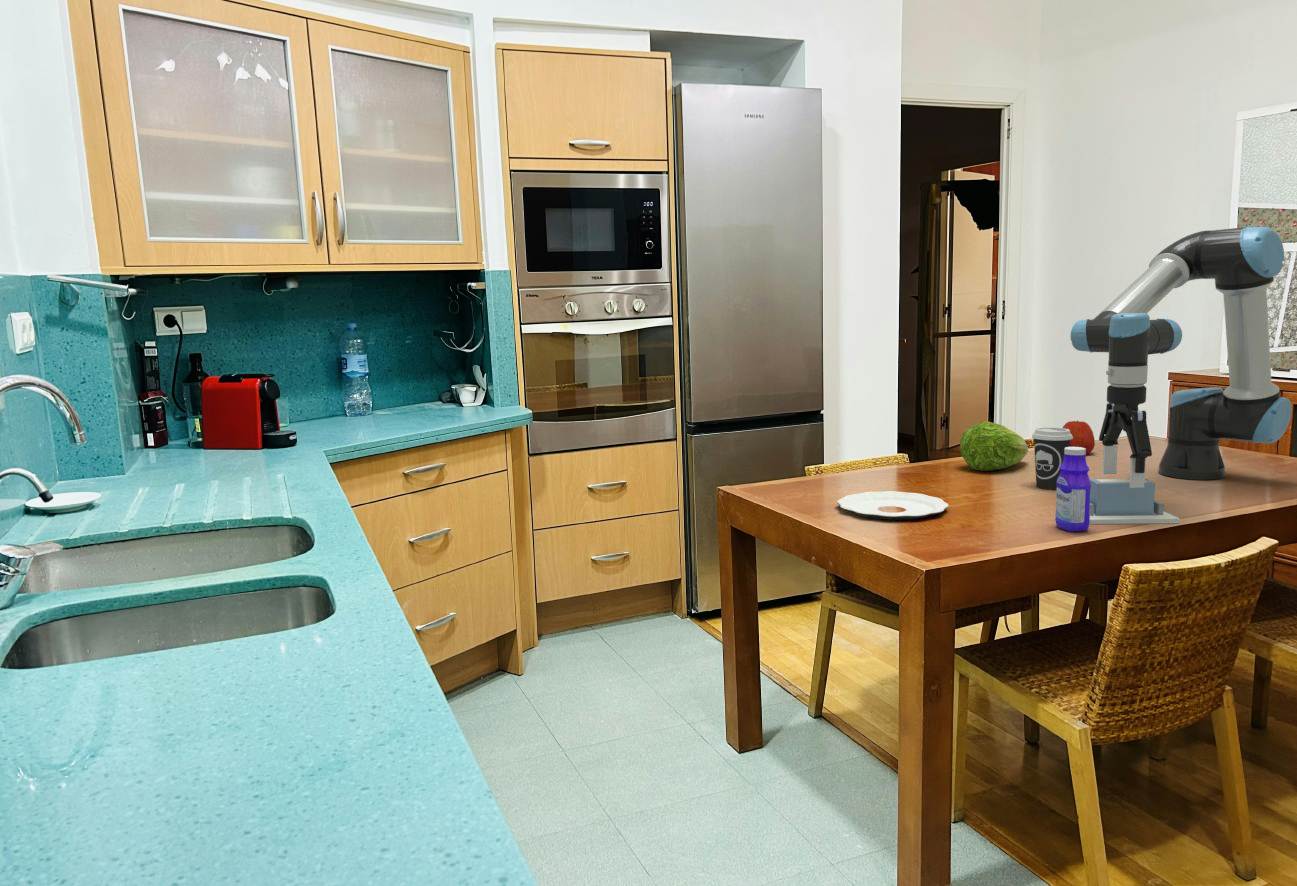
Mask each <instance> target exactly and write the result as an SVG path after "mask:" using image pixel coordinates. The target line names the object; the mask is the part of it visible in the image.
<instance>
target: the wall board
mask: <svg viewBox="0 0 1297 886" xmlns="http://www.w3.org/2000/svg"><path fill="white" fill-rule="evenodd" d="M1164 504H1165V503H1162V502H1161V501H1158V500H1157V499H1154V512H1153V514H1117V515H1095V514H1094V505H1093V504H1092V503H1090V521H1089V522H1090V524H1089V525H1125V524H1127V525H1128V524H1129V525H1133V524H1135V525H1136V524H1137V525H1138V524H1140V525H1141V524H1145V525H1147V524H1154V525H1155V524H1180V518H1179V517H1177V516H1175V515H1174V514H1170V513H1169V512H1166V511H1165V510H1164V508H1165V507H1164V506H1165V505H1164Z"/></svg>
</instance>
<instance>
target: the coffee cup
mask: <svg viewBox="0 0 1297 886" xmlns="http://www.w3.org/2000/svg"><path fill="white" fill-rule="evenodd" d="M1031 438H1032V439H1033V447H1034V448H1033V449H1034V467H1035V483H1036V484H1035V487H1036V488H1038V489H1042V490H1048V491H1049V490H1053V491H1055V490H1056V491H1057V479H1058V476H1059V475H1060V473H1061V470H1060V469H1059V467H1060V466H1061V464H1062V462H1063V459H1064V449H1065V448H1066V447H1070V442H1071V439H1073V436H1072V434H1071V433H1070V430H1069V429H1066V428H1062V427H1050V426H1049V427H1045V426H1043V427H1036V428H1035V429H1034V432H1033V433H1032V436H1031Z"/></svg>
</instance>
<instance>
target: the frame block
mask: <svg viewBox="0 0 1297 886" xmlns="http://www.w3.org/2000/svg"><path fill="white" fill-rule="evenodd" d="M1089 479H1090V482H1091V495H1090V503H1092V504H1093V505H1094V514H1095V515H1117V514H1153V512H1154V500H1155V495H1156V494H1155V493H1156V482H1153V480H1152V481H1151V480H1149V479H1147V478H1145V483H1144V488H1130V487H1129V485H1130V478H1089Z"/></svg>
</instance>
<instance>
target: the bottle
mask: <svg viewBox="0 0 1297 886" xmlns="http://www.w3.org/2000/svg"><path fill="white" fill-rule="evenodd" d="M1086 457H1087V454H1086V449H1085V448H1082V447H1066V448H1065V449H1064V459H1063V462H1062V464H1061V466H1060V467H1059V469H1060V470H1061V473H1060V475H1059V476H1058V479H1057V490H1056V494H1055V495H1056V498H1055V499H1056V500H1055V514H1054V515H1055V518H1054V519H1055V524H1056V526H1057V527H1058V528H1060V529H1062V530H1065V531H1068V532H1084V531H1085V532H1086V531H1087V530H1089V527H1090V525H1091V524H1090V522H1089V521H1090V495H1091V482H1090V479H1091V478H1090V476H1089V474H1088V473H1089V471H1090V467H1089V466H1088V464H1087V463H1088V462H1087V459H1086Z"/></svg>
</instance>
